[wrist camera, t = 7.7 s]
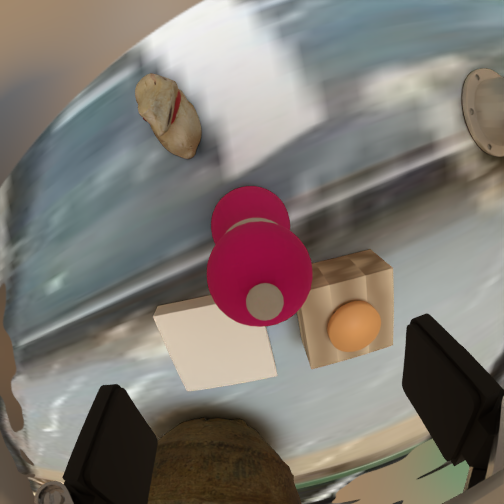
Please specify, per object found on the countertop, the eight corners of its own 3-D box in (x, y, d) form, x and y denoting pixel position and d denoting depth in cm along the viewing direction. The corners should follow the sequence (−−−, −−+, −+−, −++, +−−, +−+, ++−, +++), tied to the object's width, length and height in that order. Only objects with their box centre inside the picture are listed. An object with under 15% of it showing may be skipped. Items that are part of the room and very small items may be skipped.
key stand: (370, 249, 34) (392, 268, 29) (374, 319, 38) (392, 345, 32) (288, 269, 35) (298, 292, 29) (301, 339, 38) (311, 369, 32)
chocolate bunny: (206, 85, 28) (193, 59, 18) (199, 159, 30) (183, 163, 21) (154, 85, 27) (121, 62, 18) (148, 157, 30) (112, 162, 21)
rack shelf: (255, 285, 35) (257, 294, 33) (275, 363, 39) (277, 375, 37) (157, 305, 35) (152, 316, 33) (189, 379, 39) (187, 391, 37)
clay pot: (320, 417, 44) (357, 552, 20) (246, 483, 50) (252, 584, 27) (167, 366, 39) (129, 536, 15) (126, 447, 45) (99, 558, 22)
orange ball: (356, 272, 35) (380, 299, 28) (359, 312, 37) (381, 343, 30) (311, 283, 35) (327, 314, 28) (317, 323, 37) (332, 358, 30)
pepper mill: (282, 247, 34) (334, 365, 15) (215, 249, 34) (194, 373, 15) (282, 180, 32) (351, 230, 13) (212, 182, 31) (177, 235, 12)
